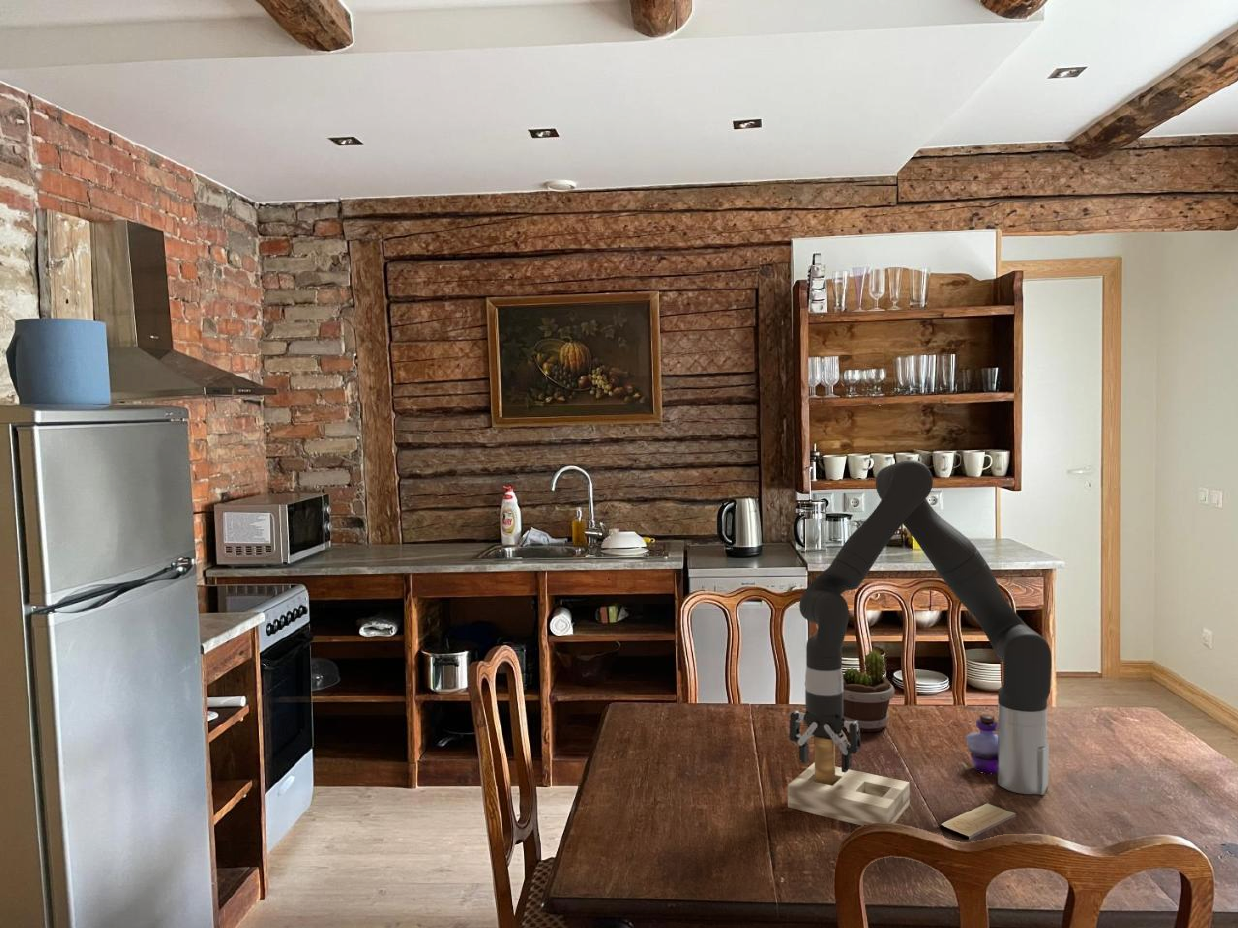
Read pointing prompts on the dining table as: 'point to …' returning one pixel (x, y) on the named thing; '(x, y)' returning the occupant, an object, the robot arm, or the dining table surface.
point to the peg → (824, 761)
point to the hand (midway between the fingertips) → (824, 766)
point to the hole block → (850, 796)
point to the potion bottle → (984, 745)
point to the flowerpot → (867, 694)
